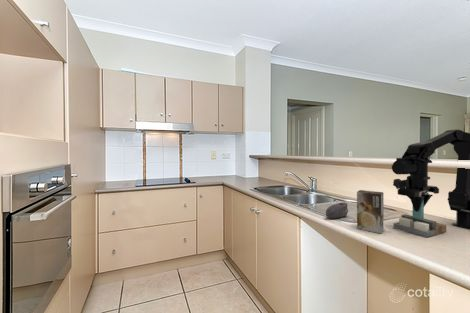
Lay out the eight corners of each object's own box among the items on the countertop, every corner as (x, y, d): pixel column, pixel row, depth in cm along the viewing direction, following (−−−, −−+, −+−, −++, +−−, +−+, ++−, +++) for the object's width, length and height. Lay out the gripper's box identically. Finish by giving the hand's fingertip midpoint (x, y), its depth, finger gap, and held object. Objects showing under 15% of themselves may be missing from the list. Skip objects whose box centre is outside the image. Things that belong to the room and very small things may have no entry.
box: (401, 225, 96) (401, 221, 96) (435, 235, 85) (435, 230, 85) (393, 227, 94) (393, 223, 94) (426, 237, 83) (426, 232, 83)
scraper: (405, 218, 97) (405, 196, 96) (436, 226, 87) (436, 201, 86) (401, 219, 96) (401, 197, 95) (432, 227, 86) (432, 202, 85)
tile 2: (417, 221, 89) (413, 222, 88) (429, 224, 85) (425, 225, 84) (417, 230, 89) (413, 231, 88) (429, 234, 86) (425, 235, 84)
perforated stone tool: (330, 221, 104) (330, 206, 104) (321, 218, 109) (321, 204, 108) (351, 217, 110) (351, 203, 110) (342, 214, 115) (342, 201, 115)
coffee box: (384, 229, 92) (384, 192, 91) (381, 234, 87) (381, 194, 87) (359, 225, 98) (360, 189, 98) (356, 228, 93) (356, 191, 93)
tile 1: (402, 217, 95) (399, 217, 94) (413, 219, 91) (409, 220, 90) (402, 226, 95) (399, 227, 94) (413, 229, 91) (409, 230, 90)
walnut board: (412, 223, 100) (412, 216, 100) (446, 232, 89) (446, 224, 89) (402, 225, 97) (402, 219, 96) (435, 235, 86) (435, 227, 86)
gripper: (409, 171, 102) (409, 204, 102) (384, 173, 94) (384, 209, 95) (440, 173, 92) (439, 210, 92) (414, 175, 84) (413, 215, 84)
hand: (418, 211), depth 91 cm, fingers closed on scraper, 2 cm apart
